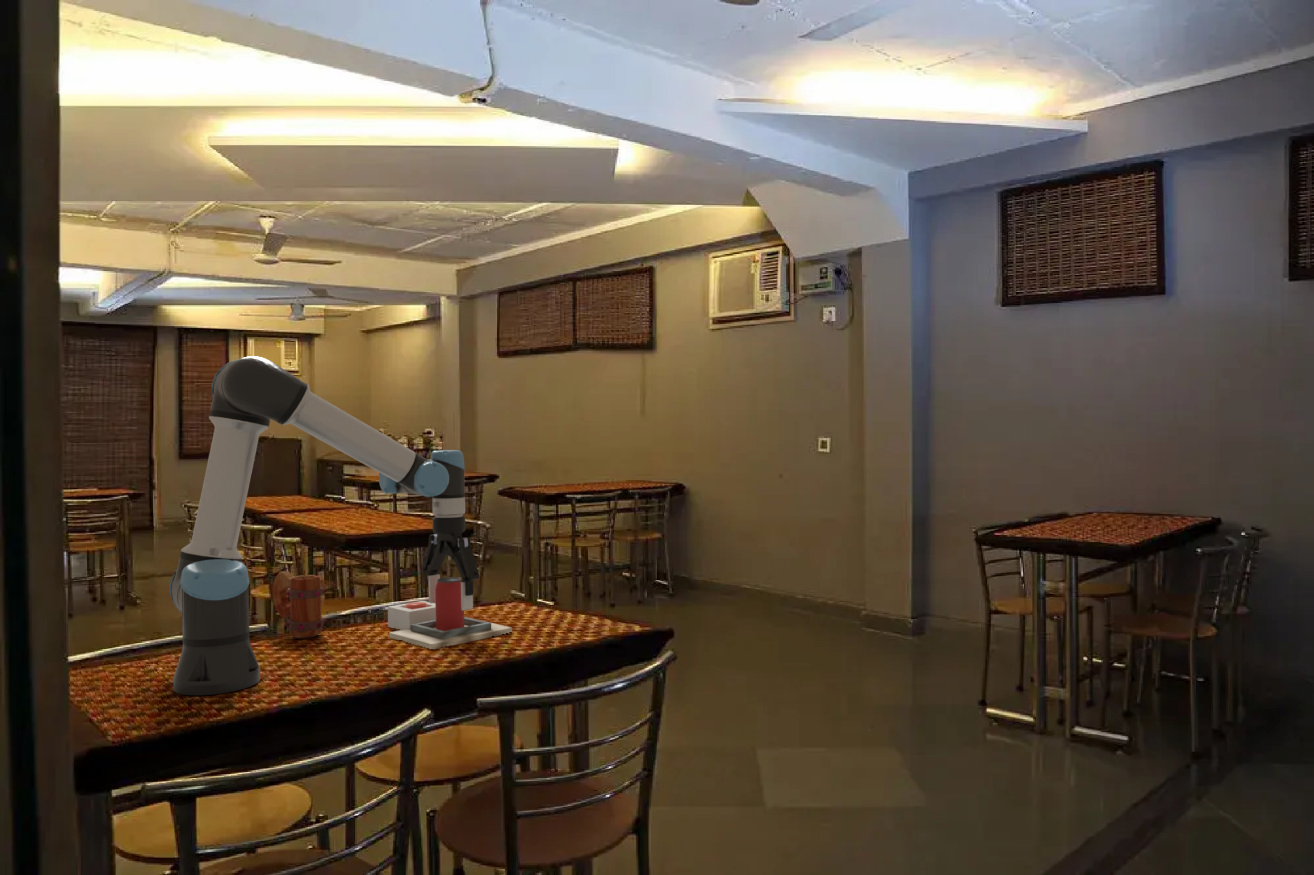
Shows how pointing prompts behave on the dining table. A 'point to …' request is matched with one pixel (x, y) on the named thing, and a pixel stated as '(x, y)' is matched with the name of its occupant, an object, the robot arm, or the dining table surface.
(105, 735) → the dining table surface
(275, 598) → the mug
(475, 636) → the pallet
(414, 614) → the button box
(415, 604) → the button
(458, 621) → the beer can
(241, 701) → the dining table surface
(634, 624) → the dining table surface
